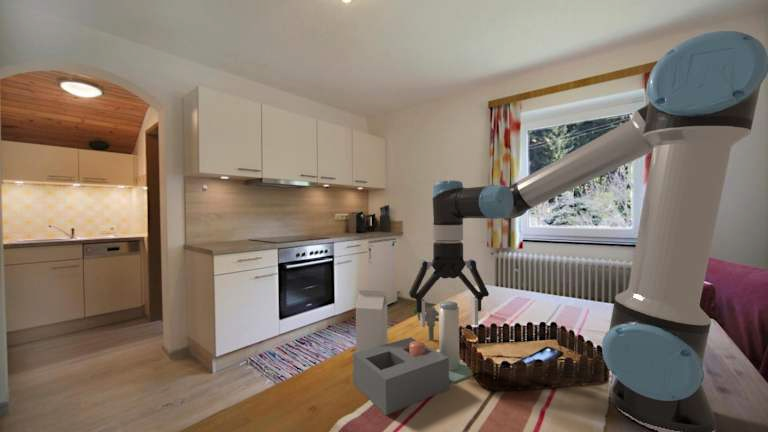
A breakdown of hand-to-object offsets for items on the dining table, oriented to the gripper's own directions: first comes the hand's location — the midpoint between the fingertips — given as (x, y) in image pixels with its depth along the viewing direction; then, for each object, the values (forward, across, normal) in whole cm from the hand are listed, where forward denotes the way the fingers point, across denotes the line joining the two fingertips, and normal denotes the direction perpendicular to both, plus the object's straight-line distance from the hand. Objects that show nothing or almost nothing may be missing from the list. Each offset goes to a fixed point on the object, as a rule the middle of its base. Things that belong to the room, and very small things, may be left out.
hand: (448, 324), depth 79 cm
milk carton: (+11, +20, -6) cm, 23 cm away
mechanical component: (+11, +1, -18) cm, 21 cm away
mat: (+11, 0, 0) cm, 11 cm away
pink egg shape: (+10, +9, +5) cm, 15 cm away
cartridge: (+11, 0, 0) cm, 11 cm away
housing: (+11, +13, +8) cm, 19 cm away
